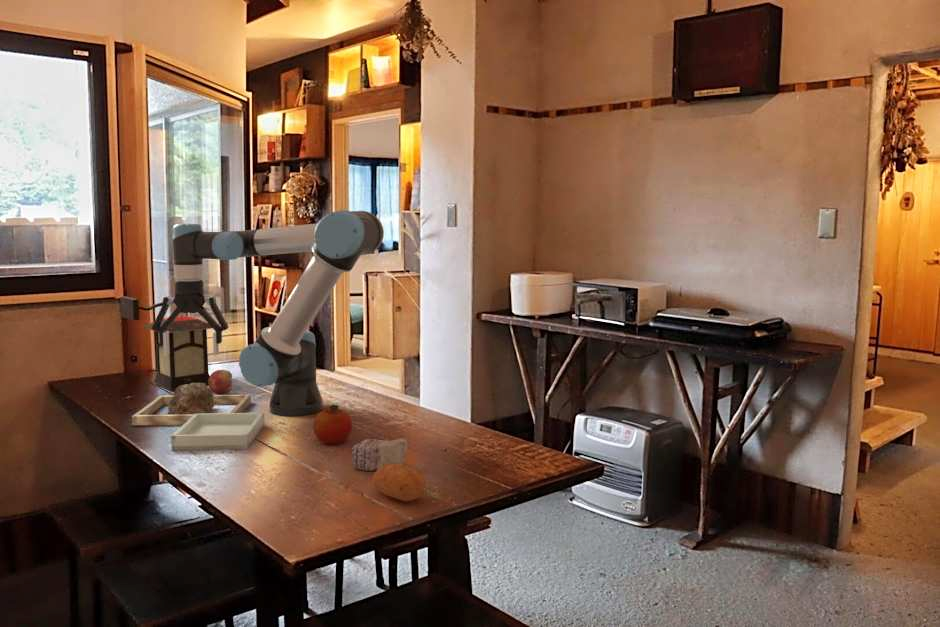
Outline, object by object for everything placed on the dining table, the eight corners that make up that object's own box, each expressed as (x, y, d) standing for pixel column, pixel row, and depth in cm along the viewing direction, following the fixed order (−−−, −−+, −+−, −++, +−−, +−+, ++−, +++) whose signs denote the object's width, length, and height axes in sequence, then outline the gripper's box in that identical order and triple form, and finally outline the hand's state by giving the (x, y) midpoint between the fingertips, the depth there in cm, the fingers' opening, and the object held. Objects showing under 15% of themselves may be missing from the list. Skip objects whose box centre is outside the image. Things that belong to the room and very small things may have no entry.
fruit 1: (227, 398, 240) (226, 373, 239) (203, 397, 241) (202, 372, 240) (238, 392, 248) (237, 367, 247) (215, 391, 249) (214, 367, 248)
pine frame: (250, 402, 235) (250, 394, 235) (232, 423, 212) (232, 414, 212) (160, 403, 233) (160, 395, 233) (132, 425, 210) (131, 416, 210)
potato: (402, 511, 151) (402, 476, 150) (365, 493, 161) (365, 459, 160) (432, 502, 156) (432, 468, 155) (394, 485, 166) (394, 452, 165)
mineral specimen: (400, 458, 184) (400, 432, 183) (409, 467, 177) (409, 440, 176) (347, 464, 179) (347, 438, 178) (354, 474, 173) (354, 446, 172)
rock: (162, 417, 223) (171, 425, 215) (158, 387, 222) (167, 394, 213) (213, 406, 231) (224, 413, 223) (210, 377, 230) (220, 384, 221)
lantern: (121, 387, 254) (115, 295, 250) (198, 376, 272) (194, 290, 268) (141, 397, 241) (136, 300, 237) (222, 385, 258) (218, 294, 254)
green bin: (264, 425, 211) (264, 412, 210) (247, 449, 190) (247, 434, 190) (196, 426, 210) (195, 413, 209) (171, 450, 189) (170, 436, 188)
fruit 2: (347, 435, 202) (347, 397, 201) (356, 445, 193) (355, 406, 192) (310, 439, 198) (309, 400, 197) (317, 449, 190) (316, 409, 188)
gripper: (237, 278, 222) (239, 352, 225) (147, 278, 221) (150, 352, 223) (231, 281, 215) (233, 357, 218) (137, 280, 213) (141, 357, 216)
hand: (191, 355), depth 221 cm, fingers open, 13 cm apart
